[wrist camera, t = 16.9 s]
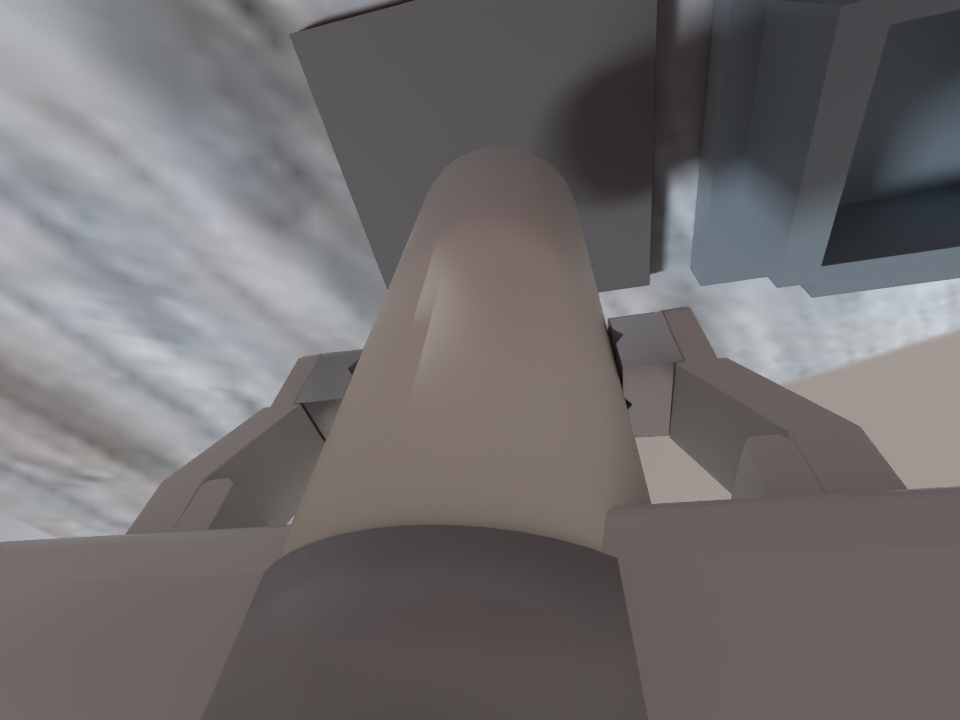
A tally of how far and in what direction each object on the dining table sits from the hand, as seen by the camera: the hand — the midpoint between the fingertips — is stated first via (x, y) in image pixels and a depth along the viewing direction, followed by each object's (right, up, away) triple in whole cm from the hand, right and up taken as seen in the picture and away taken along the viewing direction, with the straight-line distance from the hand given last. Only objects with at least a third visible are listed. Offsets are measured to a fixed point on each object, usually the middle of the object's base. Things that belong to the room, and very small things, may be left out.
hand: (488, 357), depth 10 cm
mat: (0, +8, +9) cm, 12 cm away
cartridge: (0, +4, +5) cm, 7 cm away
